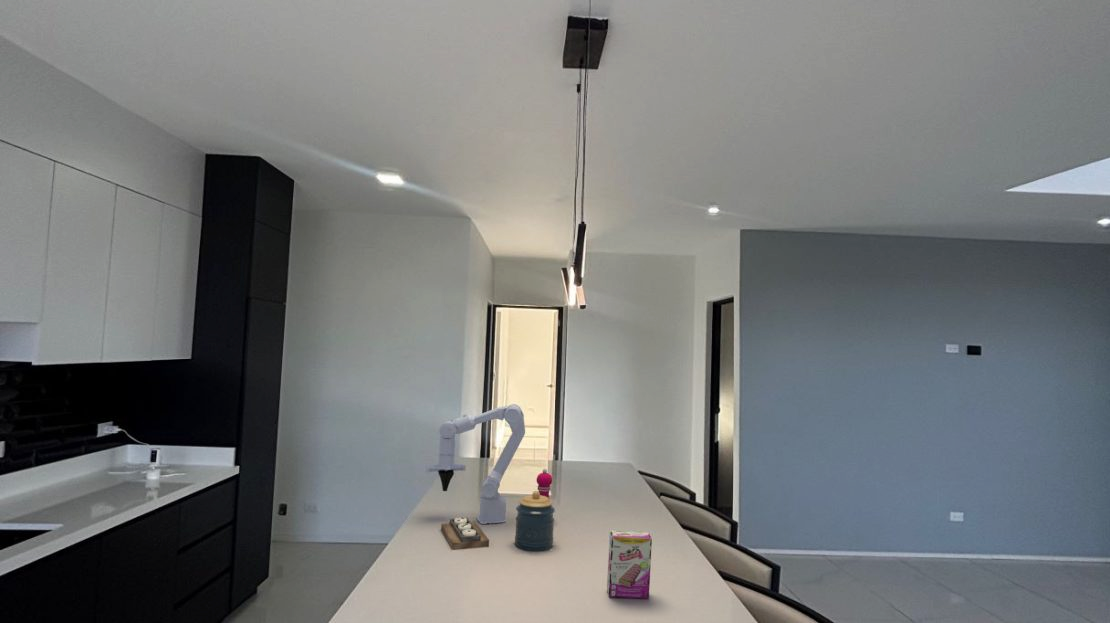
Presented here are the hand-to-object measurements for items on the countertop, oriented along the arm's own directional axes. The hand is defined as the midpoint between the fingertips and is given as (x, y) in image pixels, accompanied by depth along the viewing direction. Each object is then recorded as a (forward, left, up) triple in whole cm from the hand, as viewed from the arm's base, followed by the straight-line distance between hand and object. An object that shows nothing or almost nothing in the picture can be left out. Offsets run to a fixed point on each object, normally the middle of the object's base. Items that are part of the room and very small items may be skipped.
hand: (444, 490), depth 215 cm
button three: (-3, +22, -8) cm, 24 cm away
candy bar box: (-36, +77, -11) cm, 86 cm away
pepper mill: (-35, +13, -11) cm, 39 cm away
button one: (-3, +29, -8) cm, 30 cm away
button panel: (-3, +22, -10) cm, 25 cm away
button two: (-3, +15, -8) cm, 18 cm away
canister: (-24, +34, -11) cm, 43 cm away
